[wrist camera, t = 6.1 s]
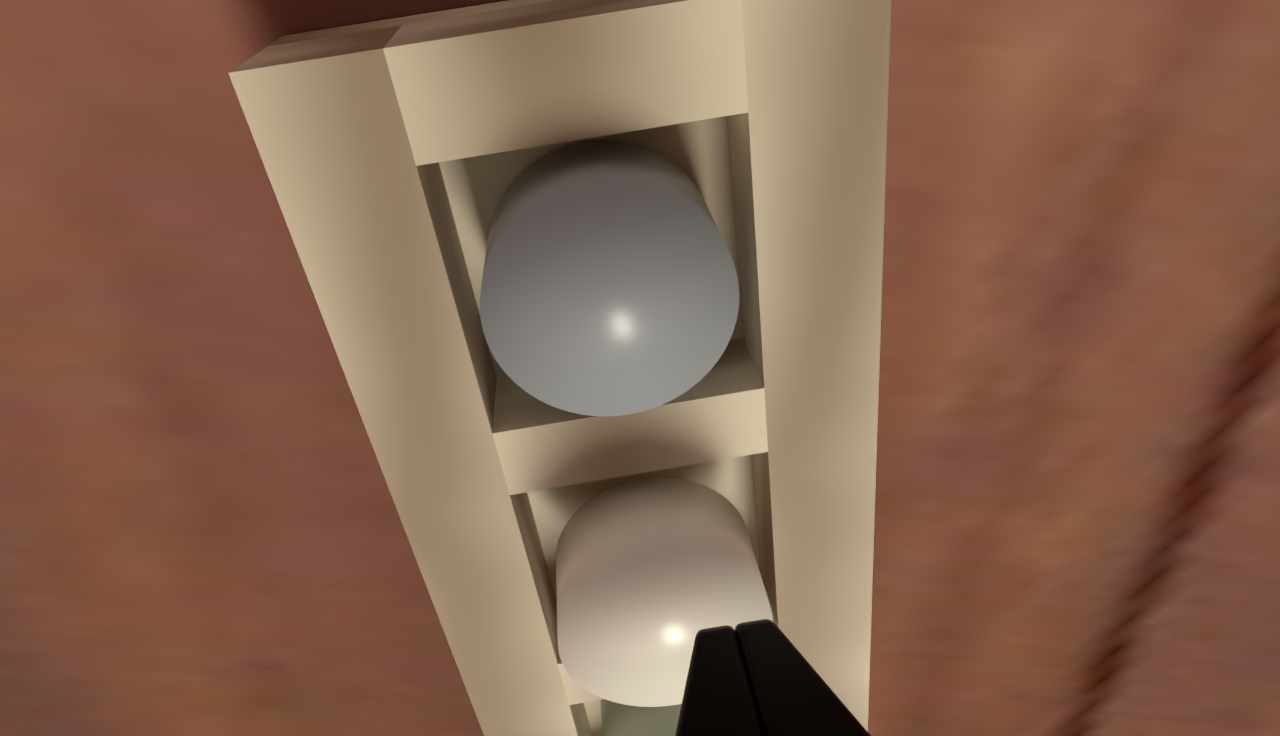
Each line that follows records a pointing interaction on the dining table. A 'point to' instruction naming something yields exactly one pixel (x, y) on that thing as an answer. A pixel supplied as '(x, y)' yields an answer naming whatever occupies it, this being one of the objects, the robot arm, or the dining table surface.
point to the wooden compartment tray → (453, 269)
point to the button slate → (606, 280)
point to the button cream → (650, 586)
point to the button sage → (638, 719)
